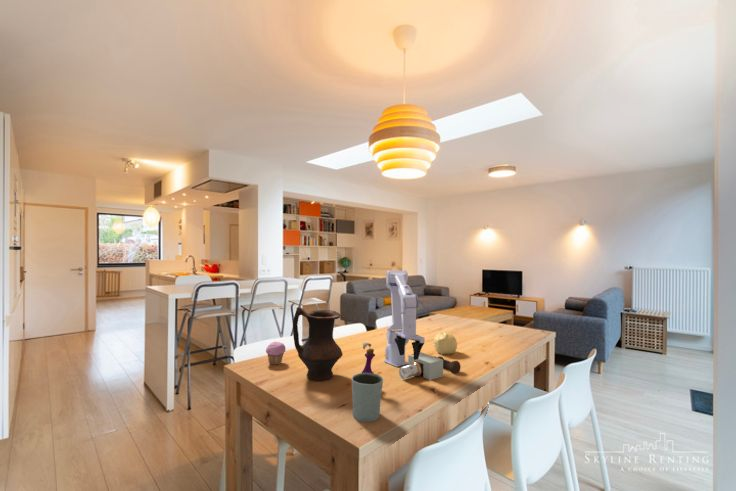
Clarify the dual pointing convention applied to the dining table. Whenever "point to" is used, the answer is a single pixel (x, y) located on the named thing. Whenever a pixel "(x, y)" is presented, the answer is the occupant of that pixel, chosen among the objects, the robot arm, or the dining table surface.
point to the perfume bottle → (368, 358)
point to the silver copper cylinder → (411, 370)
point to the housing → (428, 365)
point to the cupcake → (275, 352)
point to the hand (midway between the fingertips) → (408, 357)
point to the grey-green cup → (366, 396)
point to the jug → (318, 343)
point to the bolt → (451, 365)
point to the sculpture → (445, 343)
